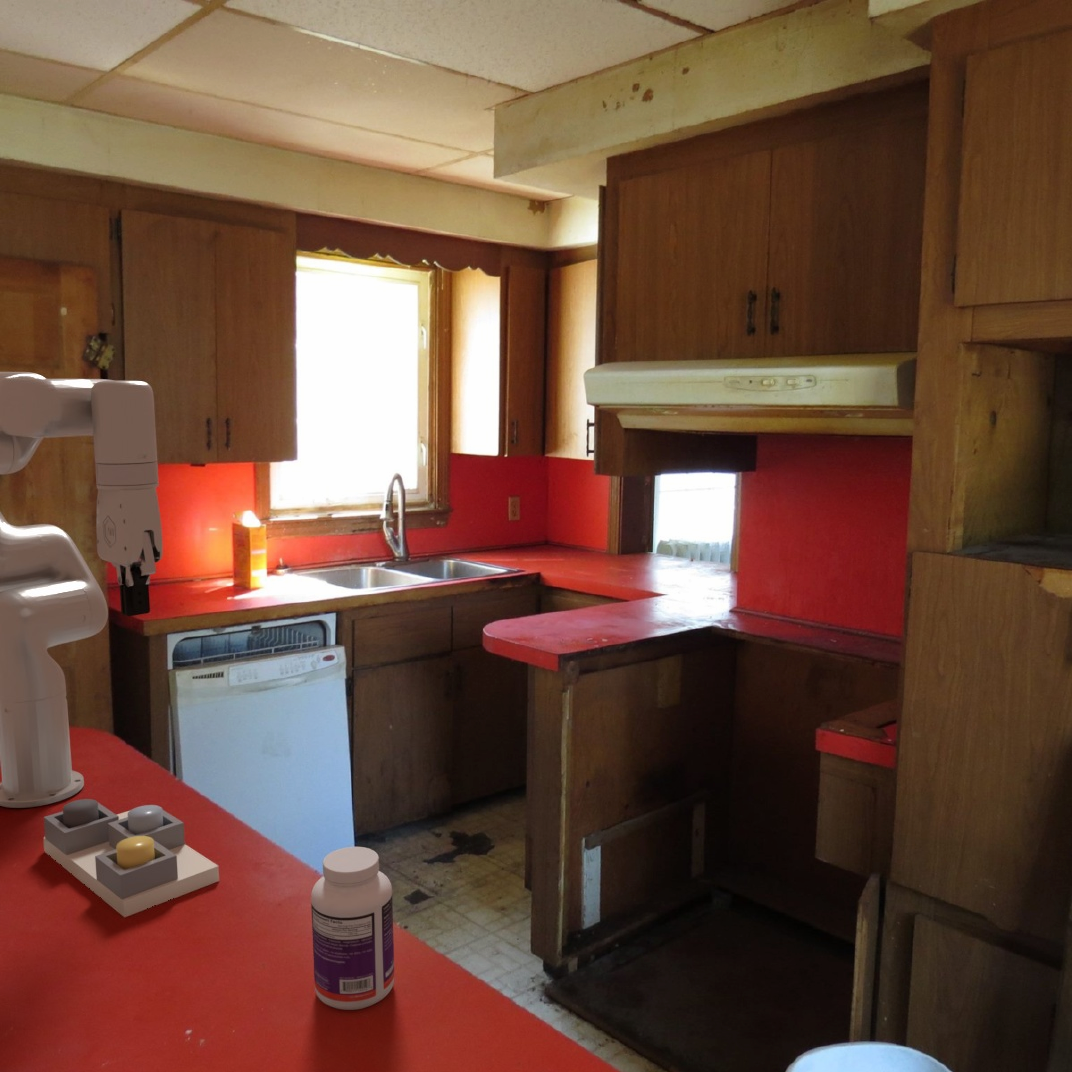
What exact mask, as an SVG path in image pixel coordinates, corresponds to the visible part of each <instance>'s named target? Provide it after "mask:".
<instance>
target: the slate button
mask: <svg viewBox="0 0 1072 1072" xmlns="http://www.w3.org/2000/svg"><path fill="white" fill-rule="evenodd" d="M162 810H163V807H161V806H159V805H156V804H147V805H146V804H145V805H140V806H137V807H134V808H132V809H130V810H128V811H129V812H128V829H129V831H130V832H131V833H133V834H134V835H138V834H141V833H144V832H147V831H150V830H153V829H156V828H159V827H162V826H163V812H162Z"/></svg>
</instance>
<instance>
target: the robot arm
mask: <svg viewBox="0 0 1072 1072" xmlns="http://www.w3.org/2000/svg"><path fill="white" fill-rule="evenodd" d="M155 413H156V412H155V397H154V391H153V388H152V386H151V385H150V384H149V383H147V382H146V381H143V380H142V381H141V380H113V379H106V378H105V379H103V378H46V377H44V376H43V375H40V374H38V373H35V372H29V371H0V475H8V474H9V475H10V474H14V473H17V472H19V471H21V470H22V469H24V468H25V467H26V466H27V465H28V463H29V462H30V461H31V459H32V458H33V455H34V454H35V453H36V451H37V449H38V447H39V446H40V444H41V442H42V441H43V439H44V438H45V439H46V438H47V439H50V438H51V439H52V438H67V437H83V436H84V437H92V436H93V449H94V462H95V479H96V481H95V482H96V489H97V498H96V517H95V518H96V552H97V555H98V557H99V558H100V559H101V560H103V561H106V562H108V563H111V565H112V566H113V568H115V570H116V576H117V583H118V585H119V598H120V599H119V600H120V613H121V615H124V616H127V617H133V616H140V615H146V614H149V613H150V612H151V603H150V588H149V585H150V583H151V575H154V574H156V572H157V569H156V563H159V562H160V561H161V560H162V558H163V555H164V554H163V552H164V551H163V550H164V549H163V548H164V547H163V546H164V545H163V544H164V543H163V531H162V530H163V529H162V519H161V512H160V506H159V505H160V504H159V500H158V499H159V498H158V493H157V488H158V487H160V484H159V483H160V482H159V468H158V467H159V465H158V463H159V462H158V450H157V449H158V448H157V431H156V415H155ZM108 618H109V610H108V604H107V600H106V597H105V595H104V592H103V590H102V588H101V586H100V585H99V583H98V581H97V579H96V578H95V576H94V574H93V573H92V571H91V569H90V567H89V566H88V564H87V562H86V561H85V559H84V556H83V555H82V553H81V551H80V550H79V548H78V547H77V545H76V543H75V542H74V540H73V538H72V537H71V536H70V535H69V534H68V533H67V532H66V531H65V530H63V529H62V528H60V527H59V526H56V525H54V524H47V523H39V524H28V525H21V526H20V525H19V526H17V525H13V524H10V523H9V522H8V521H7V519H6V518H5V517H4V515H3V513H2V512H1V510H0V771H1V772H0V773H1V782H0V807H4V808H13V809H25V808H34V807H43V806H46V805H50V804H55V803H58V802H61V801H64V800H66V799H68V798H71V797H73V796H75V795H76V794H78V793H79V792H80V791H81V790H83V787H84V785H85V780H84V776H83V774H81V773H80V772H78V771H76V770H73V769H72V766H73V765H72V755H71V754H72V753H71V739H70V726H69V713H68V712H69V711H68V700H67V699H68V698H67V689H66V688H67V686H66V685H67V684H66V677H65V674H64V673H65V672H64V671H63V669H62V667H61V666H60V665H59V663H57V661H56V660H55V659H53V657H51V655H50V654H49V652H48V649H49V648H52V647H55V646H58V645H62V644H68V643H71V642H76V641H80V640H83V639H87V638H90V637H93V636H95V635H97V634H99V633H101V631H103V629H104V628H105V626H106V624H107V621H108Z"/></svg>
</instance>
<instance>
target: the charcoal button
mask: <svg viewBox="0 0 1072 1072" xmlns="http://www.w3.org/2000/svg"><path fill="white" fill-rule="evenodd" d="M98 803H99V802H98V801H97V800H95V799H92V798H83V799H82V798H81V799H76V800H73V801H70V802H68V803H66V804H64V805H63V806H62V811H63V819H64V825H65V826H66V827H68V828H69V829H70V828H73V827H76V826H79V825H83V824H86V823H89V822H92V821H96V820H99V814H98Z"/></svg>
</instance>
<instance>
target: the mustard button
mask: <svg viewBox="0 0 1072 1072" xmlns="http://www.w3.org/2000/svg"><path fill="white" fill-rule="evenodd" d="M116 851H117V865H118V866H120V867H121V868H122V869H124V870H126V869H129V868H132V867H135V866H138V865H140V864H143V863H146V862H149V861H152V860H155V854H154V840H153V839H152V838H151V837H148V836H135V837H130V838H127V839H124V840H122V841H120V842H119V843H118V844H117V846H116Z"/></svg>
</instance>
